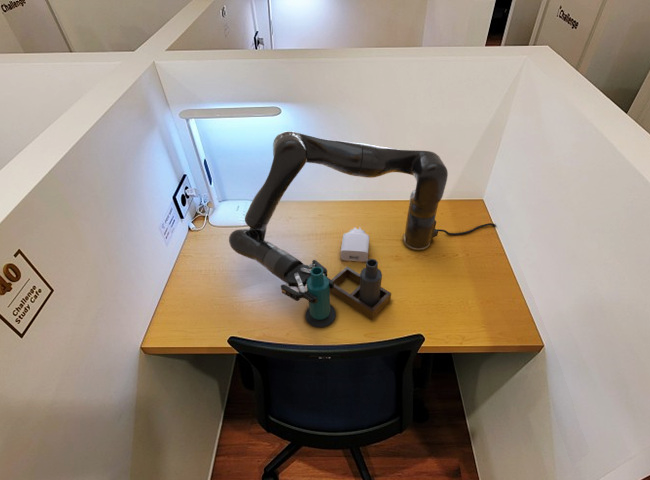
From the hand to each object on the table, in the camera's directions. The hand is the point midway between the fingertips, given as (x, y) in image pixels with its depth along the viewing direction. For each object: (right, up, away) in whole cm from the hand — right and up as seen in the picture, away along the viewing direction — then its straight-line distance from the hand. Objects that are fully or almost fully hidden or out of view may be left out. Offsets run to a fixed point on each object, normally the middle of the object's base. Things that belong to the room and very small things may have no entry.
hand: (324, 293), depth 99 cm
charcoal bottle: (+13, -4, +13) cm, 19 cm away
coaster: (-2, -7, +10) cm, 12 cm away
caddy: (+10, -2, +15) cm, 18 cm away
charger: (+10, +14, +31) cm, 35 cm away
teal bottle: (-2, -6, +8) cm, 10 cm away
